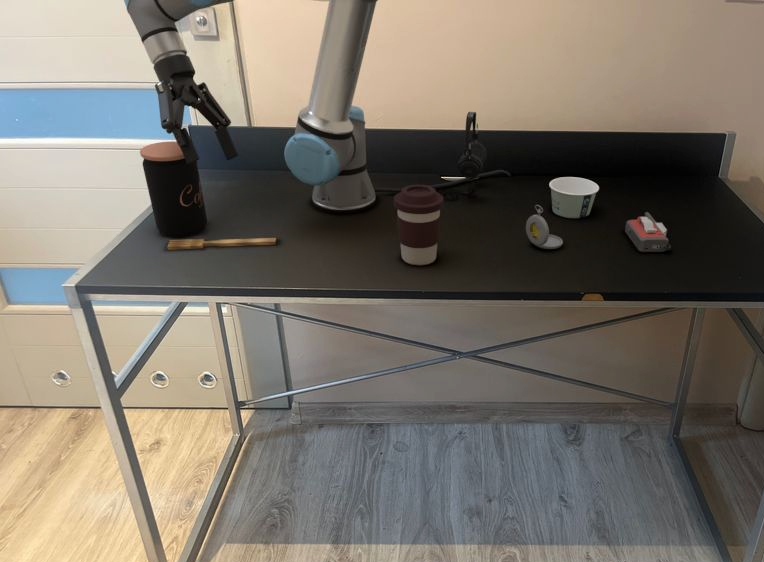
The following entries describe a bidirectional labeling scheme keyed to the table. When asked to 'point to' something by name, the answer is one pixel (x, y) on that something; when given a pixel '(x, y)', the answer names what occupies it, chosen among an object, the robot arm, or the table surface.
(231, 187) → the table surface
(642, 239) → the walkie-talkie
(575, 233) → the table surface
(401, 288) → the table surface
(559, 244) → the pocket watch
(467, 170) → the headphones
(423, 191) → the coffee cup
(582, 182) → the food container
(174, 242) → the tan flat long part
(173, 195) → the coffee jar
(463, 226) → the table surface
